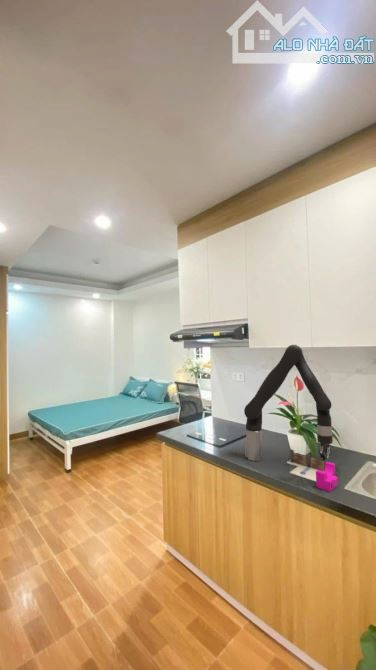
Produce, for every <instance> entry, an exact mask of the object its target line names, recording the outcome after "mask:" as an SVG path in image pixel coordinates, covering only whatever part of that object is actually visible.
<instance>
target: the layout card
mask: <svg viewBox="0 0 376 670" xmlns="http://www.w3.org/2000/svg"><path fill="white" fill-rule="evenodd" d="M286 464H289V465H291V466H295V468H294V469H292V470H291V471H289V474H291V475H293V476H297V477H300V478H303V479H307V480H309V481H312V482H314V483H316V471H317V470H318V469H314V468H311V467H307V466H304V465H301V464H298V463H294V462H291V459H289V460H287V462H286Z"/></svg>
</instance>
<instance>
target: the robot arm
mask: <svg viewBox="0 0 376 670" xmlns="http://www.w3.org/2000/svg"><path fill="white" fill-rule="evenodd" d="M294 366H295V368H296V370H297V371H298V373H299V375H300V377H301V379H302V382H303V383H304V385H305V387H306V389H307V390H308V392H309V393H310V395H311V396H312V398H313V400H314V402H315V409H316V421H317V425H316V435H317V437H316V440H317V442H318V443H319V444H320V445H319V448H320V449H319V450H318V454H319V456H320V459H322V461H324V460H325V459H326V460H328V461H329V457H330V456H331V450H332V445H331V444H333V427H332V417H331V413H330V410H331V408H332V402H331V400H330V398H329V397H328V396H327V395H328V394H326V392H325V390H324V389H323V386H322V385H321V383H320V382H319V380H318V379H317V377H316V375H315V374H314V373H313V371H312V370H311V367H310V365H308V363H307V361H306V359H305V357H304V354H303V349H302V348H301V346H299V345H297V344H291V345H288V346H287V347H286V349H285V351H284V353H283V355H282V357H281V359H280V360H279V362H278V363H277V364H276V365H275V367H274V368H272V369H271V371H270V372H269V373H268V374H267V376H265V379H264V380H263V382H262V383H261V384H260V387H259V388H258V390H257V392H256V394H255V395H254V396H253V398H252V399H250V401H249V402H248V404H246V405H245V407H244V410H243V412H244V416H245V418H246V423H245V435H246V436H245V441H244V452H245V454H244V456H245V458H246V457H247V458H248V459H247V458H246V459H247V460H248V461H251V460H252V462H259V461H262V460H263V435H262V433H263V432H262V428H263V427H262V426H263V409H264V407H265V405H266V404H267V402H268V401H270V400H271V399H272V397H273V396H274V395H275V394H276V393H277V391H279V389H280V388H281V387H282V385H283V383H284V382H285V380H286V378H287V376H288V374H289V373H290V371H291V370H292V368H293V367H294Z"/></svg>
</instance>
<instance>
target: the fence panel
mask: <svg viewBox="0 0 376 670" xmlns="http://www.w3.org/2000/svg"><path fill="white" fill-rule="evenodd" d="M310 461H311V468H314V469H318V470H321V471H325V466H326V462H329V459H328V460H326V459H325V460H324V461H323V459H322V460H321V459H319V458H314V457H310Z"/></svg>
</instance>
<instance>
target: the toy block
mask: <svg viewBox="0 0 376 670" xmlns="http://www.w3.org/2000/svg"><path fill="white" fill-rule="evenodd" d="M338 478H339V477H338V476H336V464H335V463H333V462H330V461H328V462H326V466H325V471H321V470H317V471H316V482H315V484H316V485H315V487H316V488H318V489H321V490H324V491H326V492H329V493H331V492H332V491H333V489H334V488H336V487H337V485H338V484H339V483H338V482H339V481H338V480H339V479H338Z"/></svg>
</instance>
